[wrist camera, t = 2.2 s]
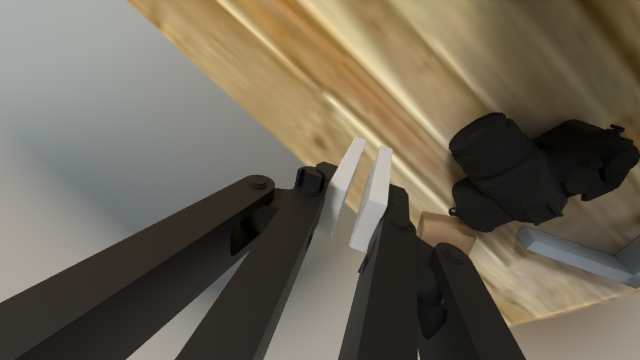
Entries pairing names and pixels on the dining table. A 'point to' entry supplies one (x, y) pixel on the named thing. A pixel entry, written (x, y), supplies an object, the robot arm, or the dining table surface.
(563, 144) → the film camera
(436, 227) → the oak chock block
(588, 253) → the bay
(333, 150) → the dining table surface
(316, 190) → the robot arm
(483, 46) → the dining table surface
